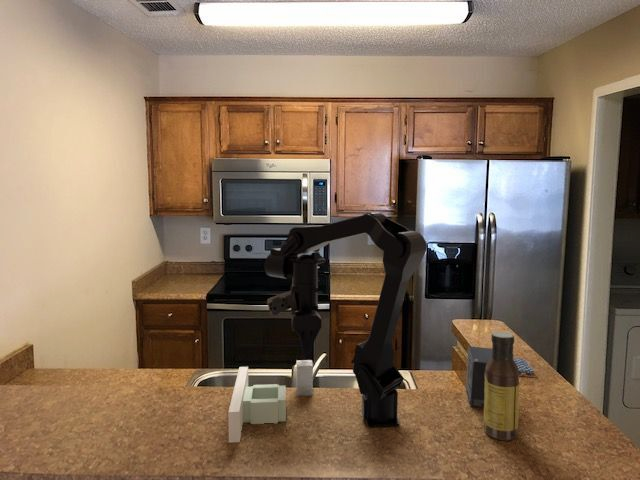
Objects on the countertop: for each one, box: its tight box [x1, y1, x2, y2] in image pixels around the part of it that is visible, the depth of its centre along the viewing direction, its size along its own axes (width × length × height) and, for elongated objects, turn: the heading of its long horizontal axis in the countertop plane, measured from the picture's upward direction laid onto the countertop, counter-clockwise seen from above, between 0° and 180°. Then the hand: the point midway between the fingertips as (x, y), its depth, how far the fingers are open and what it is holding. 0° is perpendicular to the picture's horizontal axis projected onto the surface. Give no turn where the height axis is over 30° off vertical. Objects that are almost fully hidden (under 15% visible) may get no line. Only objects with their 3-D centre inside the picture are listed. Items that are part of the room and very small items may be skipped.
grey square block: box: [296, 359, 314, 397], centre depth 109 cm, size 4×4×7 cm
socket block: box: [243, 383, 287, 425], centre depth 98 cm, size 9×9×4 cm
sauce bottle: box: [483, 330, 520, 441], centre depth 90 cm, size 6×6×20 cm
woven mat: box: [513, 356, 537, 378], centre depth 124 cm, size 10×11×2 cm
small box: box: [465, 345, 492, 409], centre depth 106 cm, size 11×6×10 cm, turn 168°
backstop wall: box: [227, 366, 249, 444], centre depth 98 cm, size 2×22×6 cm, turn 5°
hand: (304, 348), depth 108 cm, fingers open, 9 cm apart
